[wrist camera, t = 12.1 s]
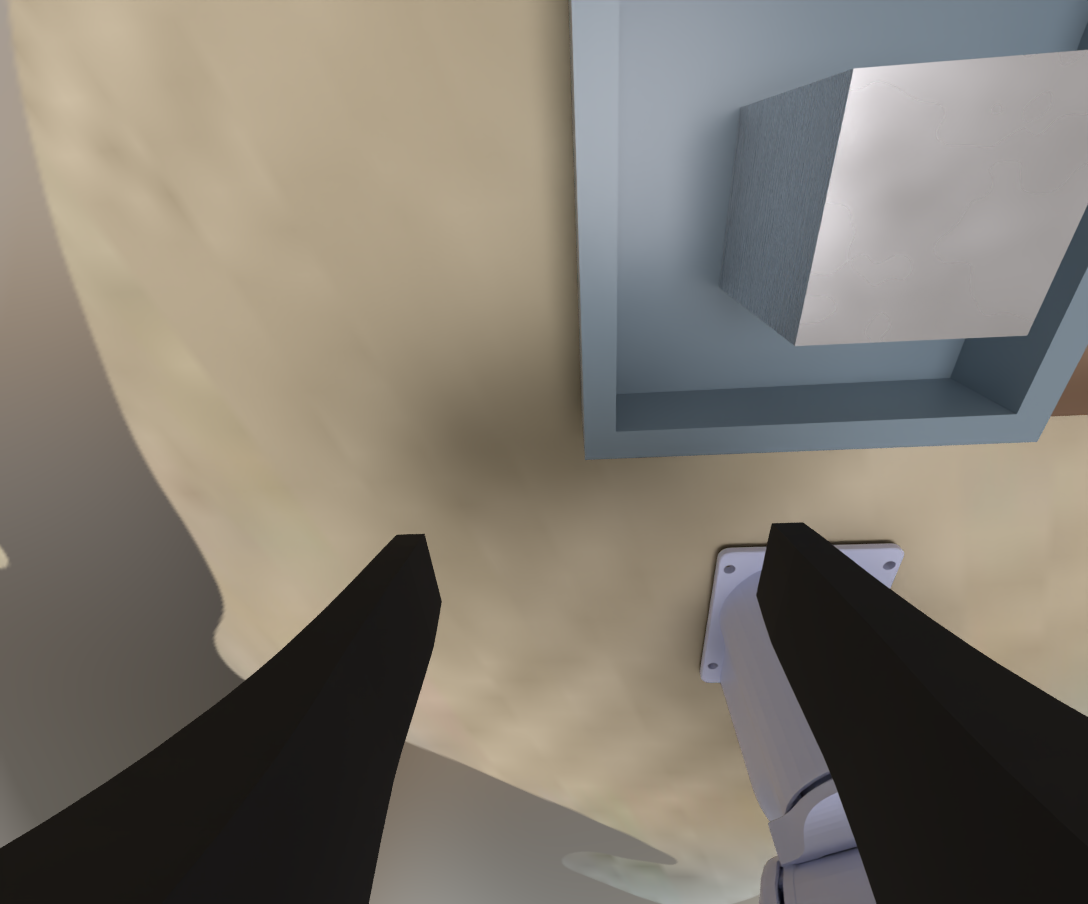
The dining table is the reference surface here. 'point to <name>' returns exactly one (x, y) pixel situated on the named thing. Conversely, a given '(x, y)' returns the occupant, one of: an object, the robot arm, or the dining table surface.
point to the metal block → (909, 199)
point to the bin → (700, 224)
